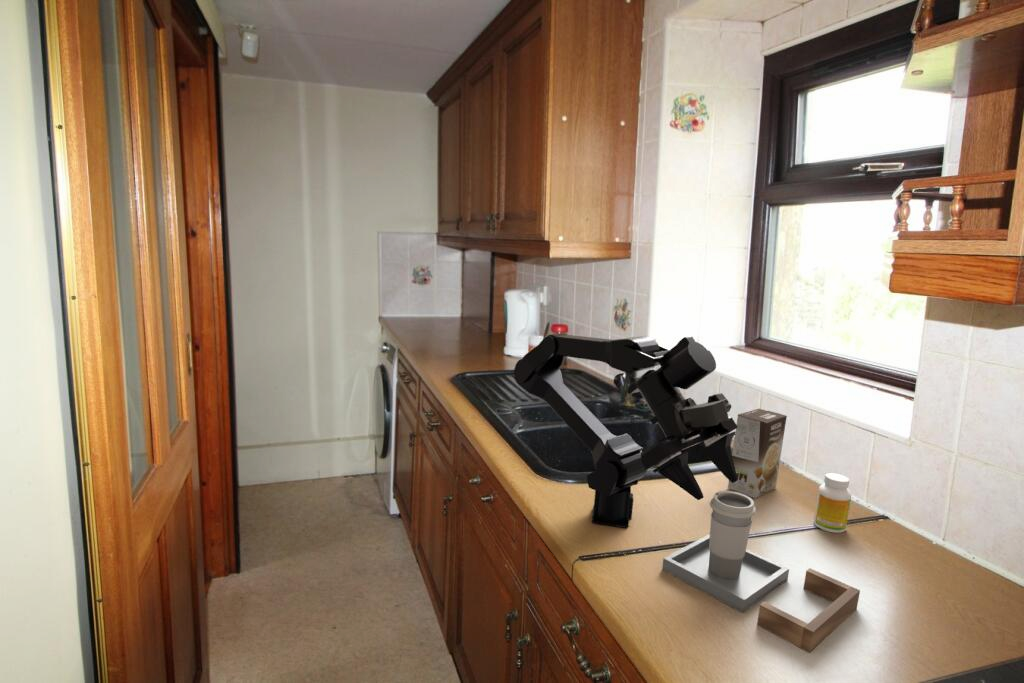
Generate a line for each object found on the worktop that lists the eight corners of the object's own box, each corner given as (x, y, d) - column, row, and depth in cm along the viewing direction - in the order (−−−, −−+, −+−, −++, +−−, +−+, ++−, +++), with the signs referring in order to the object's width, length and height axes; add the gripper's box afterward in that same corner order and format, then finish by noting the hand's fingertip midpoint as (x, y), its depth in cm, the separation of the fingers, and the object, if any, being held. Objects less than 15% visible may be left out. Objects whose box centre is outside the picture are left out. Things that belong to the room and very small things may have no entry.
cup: (712, 554, 103) (721, 485, 101) (753, 570, 99) (763, 499, 97) (694, 571, 98) (703, 499, 95) (736, 589, 94) (747, 514, 91)
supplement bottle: (849, 535, 114) (858, 485, 112) (817, 531, 115) (825, 481, 113) (840, 522, 119) (848, 473, 117) (810, 517, 120) (817, 469, 118)
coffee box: (756, 499, 127) (766, 423, 124) (726, 488, 131) (736, 414, 128) (776, 488, 133) (787, 415, 130) (748, 478, 137) (757, 407, 134)
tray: (662, 569, 99) (663, 558, 99) (709, 543, 108) (710, 533, 107) (742, 612, 89) (744, 599, 89) (787, 580, 98) (789, 568, 98)
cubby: (757, 624, 87) (759, 604, 86) (806, 586, 97) (809, 568, 96) (809, 652, 81) (813, 632, 81) (856, 609, 91) (860, 590, 91)
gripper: (661, 391, 93) (720, 488, 87) (733, 368, 104) (788, 453, 99) (617, 424, 101) (668, 515, 95) (689, 400, 112) (738, 480, 107)
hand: (718, 490), depth 99 cm, fingers open, 9 cm apart
